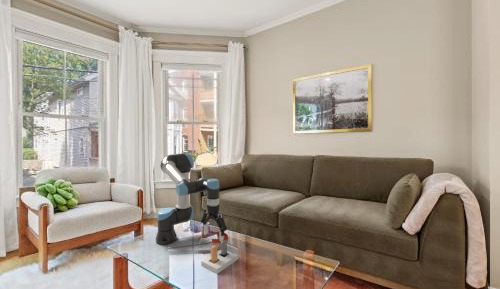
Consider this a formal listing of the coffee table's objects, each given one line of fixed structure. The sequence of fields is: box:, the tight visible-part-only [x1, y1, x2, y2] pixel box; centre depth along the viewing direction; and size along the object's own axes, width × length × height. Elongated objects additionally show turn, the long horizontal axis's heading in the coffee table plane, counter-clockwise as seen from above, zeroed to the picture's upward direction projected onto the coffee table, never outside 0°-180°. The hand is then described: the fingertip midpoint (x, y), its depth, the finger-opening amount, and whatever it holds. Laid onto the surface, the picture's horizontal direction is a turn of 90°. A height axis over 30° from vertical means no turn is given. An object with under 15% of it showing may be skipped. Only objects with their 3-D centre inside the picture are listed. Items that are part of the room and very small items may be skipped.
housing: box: [200, 244, 240, 274], centre depth 169 cm, size 14×20×7 cm
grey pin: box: [221, 240, 227, 257], centre depth 173 cm, size 4×4×12 cm
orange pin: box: [210, 245, 218, 264], centre depth 166 cm, size 4×4×12 cm
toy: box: [211, 231, 229, 251], centre depth 189 cm, size 12×10×8 cm
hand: (213, 237), depth 164 cm, fingers open, 13 cm apart
